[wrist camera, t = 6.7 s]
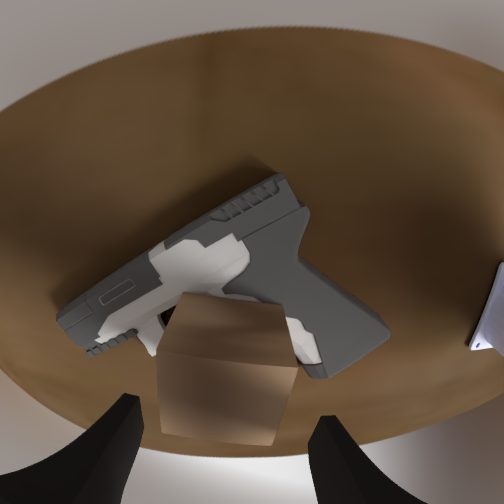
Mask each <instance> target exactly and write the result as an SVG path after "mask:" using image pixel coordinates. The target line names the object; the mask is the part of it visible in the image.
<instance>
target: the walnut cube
mask: <svg viewBox="0 0 504 504" xmlns="http://www.w3.org/2000/svg"><path fill="white" fill-rule="evenodd" d="M156 364H157V383H158V398H159V410H160V421H161V431H162V433H166V434H171V435H177V436H182V437H188V438H194V439H201V440H208V441H216V442H225V443H235V444H248V445H266V446H271V445H272V443H273V440H274V438H275V435H276V432H277V429H278V427H279V424H280V421H281V418H282V416H283V413H284V410H285V407H286V404H287V401H288V398H289V395H290V392H291V389H292V386H293V383H294V380H295V377H296V374H297V371H298V364H297V360H296V356H295V352H294V348H293V344H292V340H291V336H290V332H289V328H288V324H287V320H286V317H285V313H284V309H283V305H277V304H269V303H261V302H252V301H245V300H237V299H230V298H222V297H215V296H208V295H201V294H195V293H188V292H183V293H182V295H181V297H180V299H179V301H178V303H177V305H176V308H175V310H174V312H173V314H172V316H171V318H170V320H169V322H168V325H167V327H166V329H165V331H164V333H163V335H162V338H161V340H160V342H159V344H158V346H157V348H156Z"/></svg>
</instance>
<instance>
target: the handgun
mask: <svg viewBox="0 0 504 504" xmlns="http://www.w3.org/2000/svg"><path fill="white" fill-rule="evenodd" d="M310 215H311V214H310V211H309V209H308V207H307V206H306V205H305V204H303V203H302V202H300V201H299V202H298V201H297V199H296V197H295V195H294V193H293V192H292V190H291V188H290V186H289V184H288V182H287V181H286V179H285V177H284V176H283V174H282V173H276V174H275V175H273V176H271V177H269V178H267V179H265V180H264V181H262V182H260V183H258V184H256V185H254V186H253V187H251V188H249V189H247V190H245V191H244V192H242V193H240V194H238V195H237V196H235V197H233V198H231V199H230V200H228V201H226V202H224V203H223V204H221V205H219V206H217V207H216V208H214V209H212V210H211V211H209V212H207V213H206V214H204V215H202V216H201V217H199V218H197V219H195V220H194V221H192V222H191V223H189V224H187V225H186V226H184V227H182V228H181V229H179V230H177V231H176V232H174V233H173V234H171V235H170V236H169V237H168V238H167V239H166V240H164V241H162V242H161V243H159V244H158V245H157V244H156V245H155V246H153V247H152V248H150V249H148V250H147V251H145V252H144V253H142V254H141V255H139V256H138V257H136V258H134V259H133V260H131V261H130V262H128V263H127V264H125V265H124V266H122V267H121V268H119V269H118V270H116V271H115V272H113V273H112V274H110V275H109V276H107V277H106V278H104V279H103V280H101V281H100V282H99V283H97V284H96V285H94V286H93V287H91V288H90V289H88V290H87V291H86V292H84V293H83V294H81V295H80V296H78V297H77V298H76V299H74V300H73V301H71V302H70V303H69V304H67V305H66V306H65V307H64V308H63V309H62V310H61V311H60V312H58V313H57V314H56V321H57V322H58V324H59V325H60V326H61V328H62V329H63V330H64V332H65V333H66V334H67V335H68V336H69V338H70V339H71V340H72V341H73V342H74V343H75V344H76V345H80V346H81V347H82V348H83V349H84V350H87V352H86V354H87V355H88V356H89V357H90V358H91V357H93V356H95V355H96V354H99V353H101V352H102V351H104V350H107V349H110V347H112V346H113V347H114V346H116V345H118V344H119V343H120V342H124V341H126V340H127V339H128V338H132V337H134V336H136V335H137V336H138V338H139V339H140V340H141V341H142V342H143V344H144V345H145V346H146V348H147V350H148V352H149V353H150V355H151V356H154V355H156V348H157V346H158V344H159V342H160V340H161V338H162V335H163V333H164V331H165V329H166V326H165V325H164V323H163V321H162V319H161V312H163V311H165V310H167V309H169V308H171V307H173V306H175V305H177V303H178V301H179V299H180V297H181V295H182V293H183V292H188V293H195V294H201V295H208V296H215V297H222V298H230V299H237V300H245V301H252V302H261V303H269V304H277V305H283V309H284V313H285V317H286V320H287V324H288V328H289V332H290V336H291V340H292V344H293V348H294V352H295V355H296V356H297V357H298V358H299V360H300V363H301V365H302V366H303V368H304V370H305V371H306V373H307V374H308V376H310V377H311V378H313V379H329V378H331V377H333V376H334V375H336V374H337V373H339V372H341V371H342V370H344V369H345V368H347V367H349V366H350V365H352V364H353V363H355V362H356V361H358V360H359V359H361V358H362V357H364V356H365V355H367V354H368V353H370V352H371V351H372V350H374V349H375V348H377V347H378V346H379V345H381V344H382V343H384V342H385V341H386V340H388V339H389V338H390V337H391V331H390V329H389V328H388V326H387V325H386V324H385V323H384V321H383V320H382V319H381V318H380V316H379V315H378V314H377V313H375V312H374V311H373V310H371V309H370V308H369V307H368V306H366V305H365V304H364V303H362V302H361V301H360V300H358V299H357V298H355V297H354V296H353V295H351V294H350V293H349V292H347V291H346V290H344V289H343V288H341V287H340V286H338V285H337V284H336V283H335V282H333V281H332V280H331V279H329V278H328V277H327V276H325V275H324V274H323V273H321V272H320V271H319V270H317V269H316V268H315V267H313V266H312V265H311V264H309V263H308V262H307V261H305V260H304V259H303V258H301V257H300V256H299V255H298V249H299V245H300V242H301V239H302V237H303V234H304V232H305V229H306V227H307V224H308V222H309V218H310Z"/></svg>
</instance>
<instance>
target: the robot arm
mask: <svg viewBox="0 0 504 504" xmlns="http://www.w3.org/2000/svg"><path fill="white" fill-rule="evenodd" d="M493 347H494V348H495V349H496V350H497V351H498V352H499V353H500V354H501V355H502V356H503V357H504V262H502V263H501V264H500V265H499V268H498V271H497V275H496V278H495V281H494V284H493V287H492V290H491V293H490V296H489V298H488V301H487V304H486V306H485V309H484V311H483V314H482V316H481V319H480V321H479V324H478V326H477V328H476V331H475V333H474V335H473V337H472V339H471V342H470V344H469V349H470V350H479V349H486V348H493ZM143 430H144V423H143V417H142V411H141V405H140V399H139V396H135V395H131V394H127V393H124V394H123V395H122V396H121V397H120V398H119V399H118V400H117V401H116V402H115V403H114V404H113V405H112V406H111V408H110V409H109V410H108V411H107V412H106V413H105V414H104V415H103V416H102V417H101V418H99V419H98V420H97V421H96V422H95V423H94V424H93V425H92V426H91V427H90V428H89V429H87V430H86V431H85V432H84V433H83V434H82V435H80V436H79V437H78V438H77V439H75V440H74V441H73V442H71V443H70V444H69V445H67V446H66V447H64V448H63V449H61V450H60V451H58V452H56V453H55V454H53V455H51V456H49V457H48V458H46V459H44V460H42V461H40V462H38V463H35V464H33V465H31V466H28V467H26V468H24V469H21V470H18V471H15V472H11V473H8V474H4V475H0V504H120V503H121V498H122V494H123V491H124V487H125V484H126V482H127V479H128V476H129V474H130V471H131V468H132V466H133V463H134V460H135V457H136V455H137V452H138V449H139V447H140V443H141V438H142V434H143ZM308 455H309V465H310V469H311V474H312V479H313V483H314V487H315V492H316V496H317V501H318V504H427V503H425V502H423V501H421V500H419V499H418V498H416V497H414V496H413V495H411V494H410V493H408V492H407V491H405V490H404V489H402V488H401V487H399V486H398V485H397V484H395V483H394V482H393V481H392V480H390V479H389V478H388V477H387V476H386V475H385V474H384V473H383V472H382V471H380V469H379V468H378V467H377V466H376V465H375V464H374V463H373V462H372V461H371V460H370V459H369V458H368V457H367V455H366V454H365V453H364V452H363V451H362V450H361V448H360V447H359V446H358V445H357V443H356V442H355V441H354V440H353V438H352V437H351V436H350V434H349V433H348V432H347V430H346V429H345V428H344V426H343V425H342V424H341V422H340V421H339V420H338V418H337V417H336V416H335V415H332V416H321V417H320V419H319V422H318V424H317V426H316V428H315V430H314V432H313V434H312V436H311V438H310V440H309V442H308Z"/></svg>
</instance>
